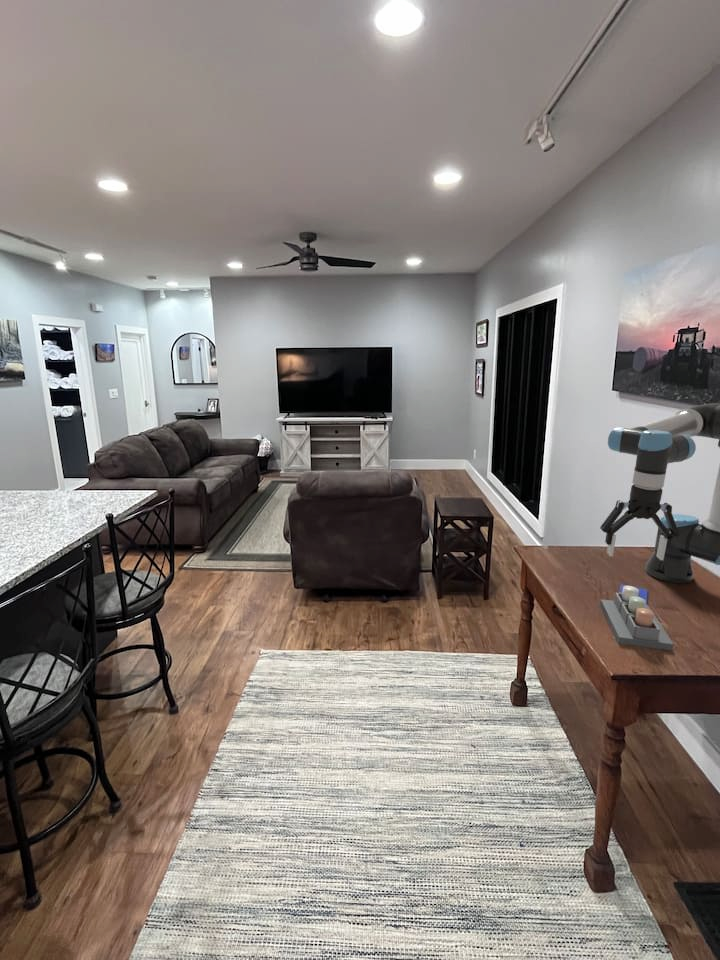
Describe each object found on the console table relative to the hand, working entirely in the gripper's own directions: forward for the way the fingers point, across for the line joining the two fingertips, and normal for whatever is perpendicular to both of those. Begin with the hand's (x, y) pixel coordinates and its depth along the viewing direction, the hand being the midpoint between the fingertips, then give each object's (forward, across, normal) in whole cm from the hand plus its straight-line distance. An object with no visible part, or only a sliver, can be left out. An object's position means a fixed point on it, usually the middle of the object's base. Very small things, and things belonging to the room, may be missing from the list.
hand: (634, 556), depth 139 cm
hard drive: (+24, -11, -21) cm, 34 cm away
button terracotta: (+19, -4, +5) cm, 20 cm away
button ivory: (+19, -5, -9) cm, 21 cm away
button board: (+24, -4, -2) cm, 24 cm away
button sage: (+19, -4, -2) cm, 19 cm away
